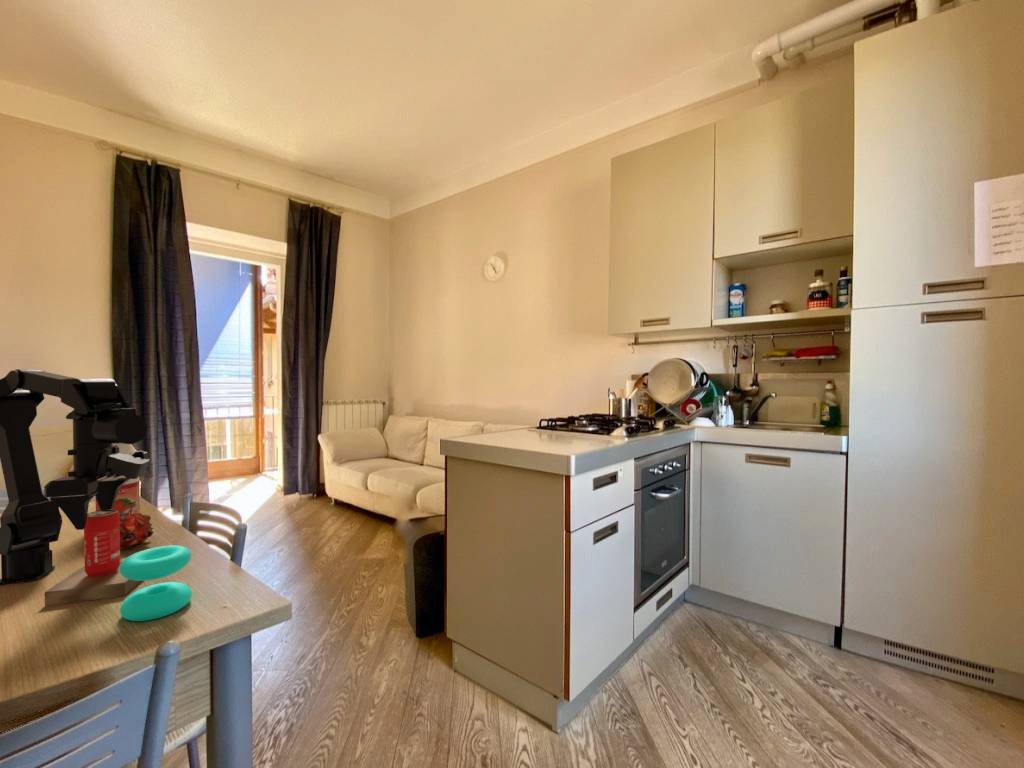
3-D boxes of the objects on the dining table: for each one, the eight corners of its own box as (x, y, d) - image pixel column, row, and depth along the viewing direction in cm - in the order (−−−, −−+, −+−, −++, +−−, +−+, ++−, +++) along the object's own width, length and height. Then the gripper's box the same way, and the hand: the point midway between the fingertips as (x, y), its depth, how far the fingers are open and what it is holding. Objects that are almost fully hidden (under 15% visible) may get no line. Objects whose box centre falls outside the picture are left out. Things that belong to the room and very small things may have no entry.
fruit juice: (147, 519, 135) (145, 423, 134) (128, 529, 126) (126, 427, 125) (109, 521, 133) (107, 424, 132) (87, 532, 123) (85, 428, 123)
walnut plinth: (44, 605, 83) (44, 592, 83) (83, 578, 94) (83, 566, 94) (125, 595, 86) (125, 582, 86) (153, 570, 98) (153, 558, 98)
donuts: (183, 558, 79) (109, 568, 75) (184, 616, 79) (110, 630, 75) (196, 540, 88) (130, 548, 84) (197, 592, 88) (131, 602, 84)
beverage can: (100, 579, 88) (98, 517, 88) (77, 577, 89) (76, 515, 89) (127, 568, 93) (126, 509, 93) (105, 567, 94) (104, 508, 94)
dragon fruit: (136, 543, 119) (133, 564, 110) (100, 530, 115) (93, 551, 105) (160, 514, 121) (158, 533, 112) (126, 500, 117) (121, 518, 107)
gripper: (119, 447, 83) (120, 532, 83) (162, 435, 101) (163, 505, 101) (41, 450, 80) (42, 539, 80) (99, 437, 98) (101, 510, 98)
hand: (94, 522), depth 90 cm, fingers open, 9 cm apart
